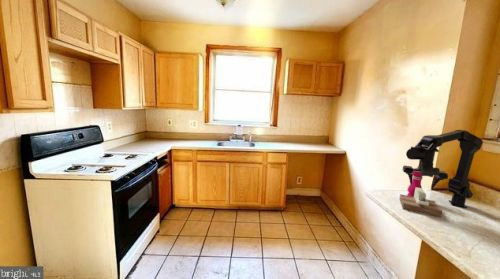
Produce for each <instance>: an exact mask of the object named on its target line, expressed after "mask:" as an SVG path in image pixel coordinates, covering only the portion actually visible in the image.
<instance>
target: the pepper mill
mask: <svg viewBox="0 0 500 279" xmlns="http://www.w3.org/2000/svg"><path fill="white" fill-rule="evenodd" d="M414 169H418V166H417V167H415V168H414ZM412 174H413V177H412V185H410V184H409V185H408V186H407V191H408V192H407V195H406V196H411V197H414V193H415V188H416V187H417V188H422V180H423V178H424V176H423V175H421V173H417V172H413V173H412ZM422 189H423V188H422Z"/></svg>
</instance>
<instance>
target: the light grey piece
mask: <svg viewBox="0 0 500 279" xmlns="http://www.w3.org/2000/svg"><path fill="white" fill-rule="evenodd" d="M414 198H415V200H416V202H417V204H423V205H428V206H429V202H428V200H429V199H427V194H426V192H425V191H424V189H423V188H417V187H416V188H415V193H414ZM421 198H425V199H427V200H425V202H423V201H420V200H421Z"/></svg>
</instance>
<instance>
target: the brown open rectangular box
mask: <svg viewBox="0 0 500 279" xmlns="http://www.w3.org/2000/svg"><path fill="white" fill-rule="evenodd" d="M425 200H428V202H429V206H428V205H423V204H417V202H416V200H415V198H414V197H411V196H407V195H406V194H399V202H400V206H401V208H402V210H404V211H405V210H406V211H410V212H415V213H418V214H419V213H420V214H422V215H423V214H425V215H429V216H433V217H438V218H442V214H443V211H442V210H441V208H440V207H439V205H438V204H437V202H436V201H435V200H433V199H432V200H431V199H427V198H426V199H425V198H421V200H420V201H423V202H425Z"/></svg>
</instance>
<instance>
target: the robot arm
mask: <svg viewBox="0 0 500 279" xmlns="http://www.w3.org/2000/svg"><path fill="white" fill-rule="evenodd" d="M452 141H458V142H459V149H460V151H461V153H460V157H459V161H458V165H457V168H456V172H455V175H454V176H453V177H452V178H451V177H450V178H449V174H448V173H447V172H446V171H445V170H440V168H439V167H434V160H435V154H436V153H439V152H440V150H439V149H438V148H439V147H442V145H443V144H445V143H449V142H452ZM483 143H484V142H483V140H482V138H480V137H478V136H476V135H474V134H472V133H471V132H469V131H468V130H464V129H455V130H453V131H449V132H446V133H441V134H436V135H435V134H434V135H433V134H432V135H431V134H430V135H429V134H428V135H424V136H422V137H421V139H420V140H419V141H418V142H417V143H416V144H415V146H410V148H409V149H408V150H406V152H405V153H406V156H405V157H406V158H407V159H408V160H413V161H414V160H419V162H418V166H417V167H418V169H415V168H413V166H410V165H405V164H404V165H403V166H402V170H401V171H403V173H405V175H408V179H409V185H412V180H413V178H412V177H413V174H412V173H413V172H417V173H421V175H423V176H422V177H429V178H433V179H432V182H431V185H430V186H431V188H430V189H431V190H433V189H434V188H435V187H436V185H437V184H438V183H439V182H440V181H444V180H448V183H447V189H448V192H449V193H452V195H451V199H449V200H448V202H449V203H450V204H451V206H456V207H461V208H465V209H467V208H468V206H467V205H466V201H467V199H470V198H471V199H472V197H473V196H474V193H473V192H472V190H471V189H470V186H471V185H470V184H471V183H470V181H469V178H468V177H469V175H470V171H471V168H472V167H471V166H472V164H473V159H474V157H475V154H476V153H477V152H479V151H481V148H482V146H483ZM448 178H449V179H448Z"/></svg>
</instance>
